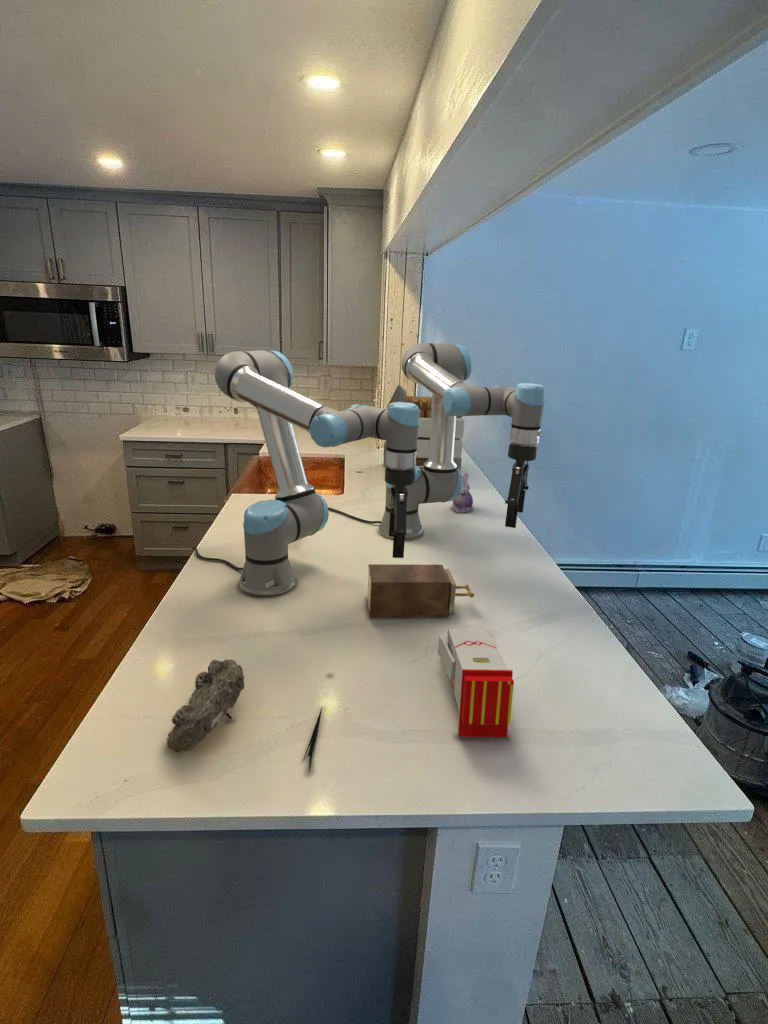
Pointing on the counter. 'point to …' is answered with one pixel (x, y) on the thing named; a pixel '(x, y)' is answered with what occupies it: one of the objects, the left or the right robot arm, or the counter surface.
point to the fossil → (206, 705)
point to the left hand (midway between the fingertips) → (395, 546)
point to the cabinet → (407, 591)
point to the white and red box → (478, 682)
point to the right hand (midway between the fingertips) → (514, 519)
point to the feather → (313, 740)
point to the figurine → (463, 497)
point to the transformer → (427, 427)
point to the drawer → (453, 589)
